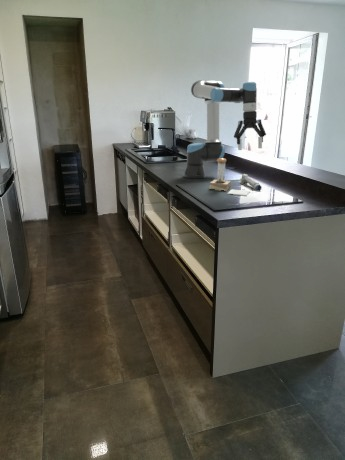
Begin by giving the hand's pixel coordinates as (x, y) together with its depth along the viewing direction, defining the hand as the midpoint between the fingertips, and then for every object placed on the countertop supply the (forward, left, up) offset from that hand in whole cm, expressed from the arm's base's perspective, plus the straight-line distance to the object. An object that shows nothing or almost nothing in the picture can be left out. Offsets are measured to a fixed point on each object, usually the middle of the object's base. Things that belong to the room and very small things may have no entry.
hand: (250, 149), depth 205 cm
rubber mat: (+12, -3, -24) cm, 27 cm away
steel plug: (+5, -16, -24) cm, 29 cm away
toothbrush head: (-10, 0, -25) cm, 27 cm away
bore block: (+5, -16, -24) cm, 29 cm away
